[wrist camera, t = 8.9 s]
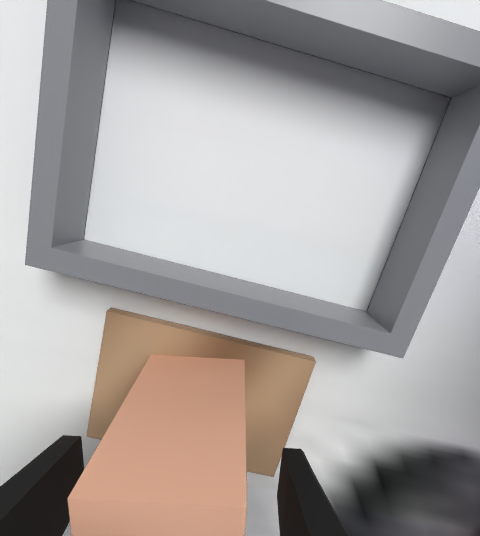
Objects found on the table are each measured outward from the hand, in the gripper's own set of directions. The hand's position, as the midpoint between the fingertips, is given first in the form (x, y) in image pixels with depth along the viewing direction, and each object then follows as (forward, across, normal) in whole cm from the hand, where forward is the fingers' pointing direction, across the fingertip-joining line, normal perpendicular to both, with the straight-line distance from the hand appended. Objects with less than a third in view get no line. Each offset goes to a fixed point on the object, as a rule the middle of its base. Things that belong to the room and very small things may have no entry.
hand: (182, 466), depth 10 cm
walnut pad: (+4, 0, 0) cm, 4 cm away
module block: (+3, 0, 0) cm, 3 cm away
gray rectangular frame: (+4, -2, -10) cm, 11 cm away
